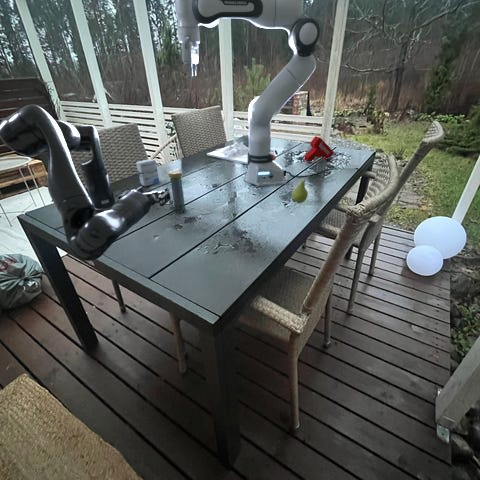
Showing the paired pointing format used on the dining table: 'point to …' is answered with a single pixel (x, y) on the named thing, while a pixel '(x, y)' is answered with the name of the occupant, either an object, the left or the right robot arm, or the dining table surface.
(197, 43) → the right robot arm
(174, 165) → the dining table surface
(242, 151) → the relief map
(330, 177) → the dining table surface
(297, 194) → the fruit
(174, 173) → the lid
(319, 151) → the toy gun
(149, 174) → the ink box
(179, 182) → the dark grey cylinder
